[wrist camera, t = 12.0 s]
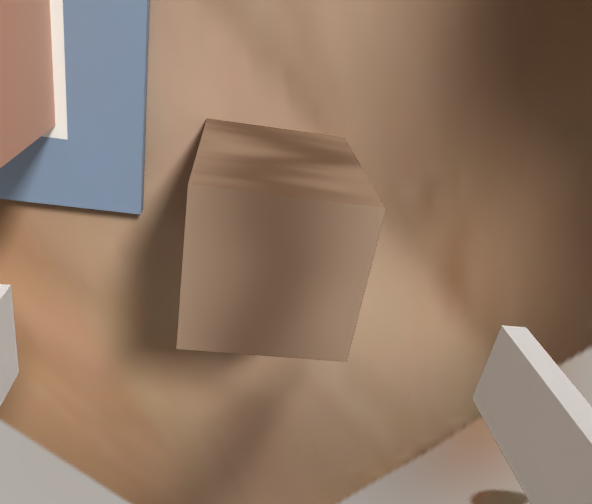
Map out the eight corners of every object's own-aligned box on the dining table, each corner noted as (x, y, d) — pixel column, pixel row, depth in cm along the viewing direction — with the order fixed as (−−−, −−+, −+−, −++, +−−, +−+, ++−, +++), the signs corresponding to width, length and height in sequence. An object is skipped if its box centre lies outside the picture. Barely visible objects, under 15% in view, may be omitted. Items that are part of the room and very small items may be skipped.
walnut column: (344, 137, 23) (386, 208, 16) (319, 256, 26) (346, 362, 19) (206, 118, 22) (187, 184, 15) (196, 243, 25) (176, 348, 18)
